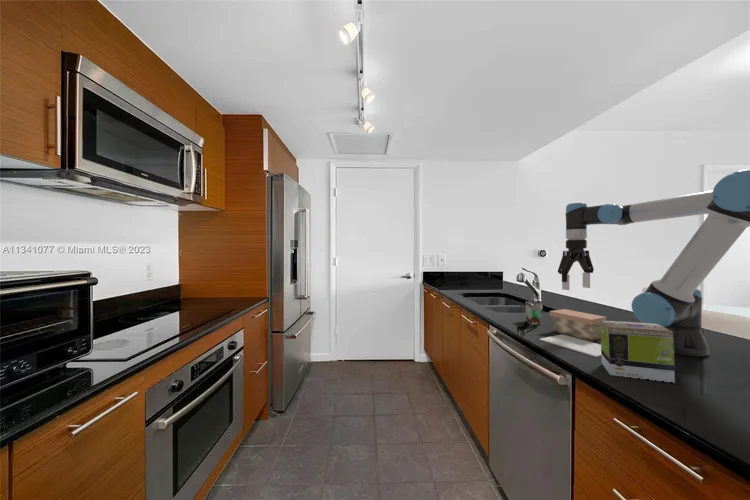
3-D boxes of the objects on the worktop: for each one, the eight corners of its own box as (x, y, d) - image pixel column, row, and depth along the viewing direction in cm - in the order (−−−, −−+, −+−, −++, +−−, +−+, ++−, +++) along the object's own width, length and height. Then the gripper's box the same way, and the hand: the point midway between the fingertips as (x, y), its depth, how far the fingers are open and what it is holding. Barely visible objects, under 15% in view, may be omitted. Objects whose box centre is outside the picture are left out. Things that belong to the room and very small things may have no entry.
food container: (546, 327, 145) (546, 306, 145) (532, 326, 147) (532, 305, 147) (538, 320, 158) (538, 301, 157) (525, 320, 159) (525, 301, 159)
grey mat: (620, 351, 112) (620, 349, 112) (596, 357, 106) (596, 355, 106) (562, 335, 132) (562, 334, 132) (539, 339, 126) (539, 338, 126)
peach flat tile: (606, 324, 126) (606, 317, 126) (591, 327, 122) (591, 319, 122) (564, 315, 143) (564, 309, 143) (549, 317, 139) (549, 311, 139)
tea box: (660, 371, 94) (660, 323, 94) (675, 384, 85) (675, 331, 85) (600, 363, 100) (600, 318, 100) (608, 375, 91) (608, 326, 91)
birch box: (601, 338, 127) (601, 321, 126) (591, 341, 124) (591, 323, 124) (564, 329, 141) (564, 314, 141) (553, 331, 138) (553, 315, 138)
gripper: (585, 239, 141) (585, 285, 141) (548, 239, 131) (548, 289, 131) (603, 239, 134) (603, 287, 134) (565, 239, 124) (565, 291, 124)
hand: (576, 288), depth 132 cm, fingers open, 13 cm apart
